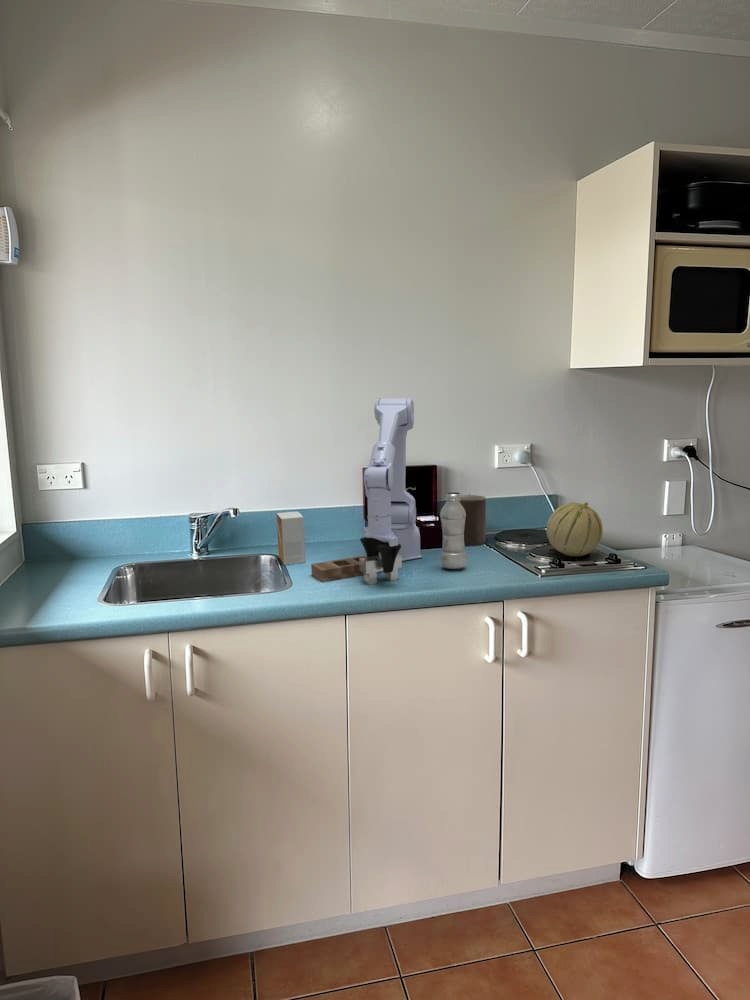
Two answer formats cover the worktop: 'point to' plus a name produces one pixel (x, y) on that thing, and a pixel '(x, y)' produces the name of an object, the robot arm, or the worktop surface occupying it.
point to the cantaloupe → (574, 529)
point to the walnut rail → (337, 569)
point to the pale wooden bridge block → (378, 568)
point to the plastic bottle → (453, 532)
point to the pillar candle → (474, 519)
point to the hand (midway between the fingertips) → (380, 568)
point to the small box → (291, 538)
